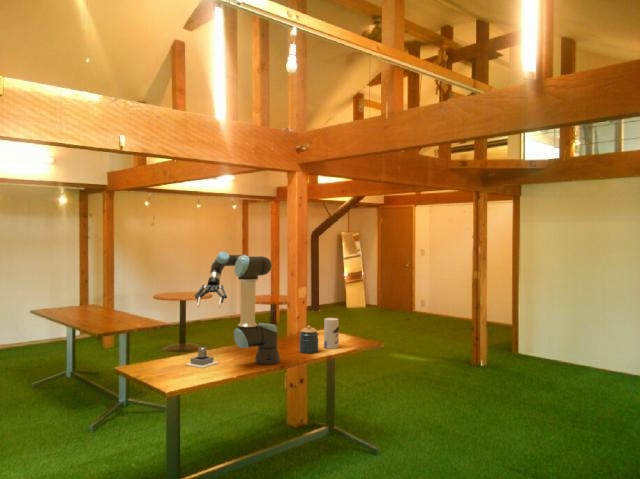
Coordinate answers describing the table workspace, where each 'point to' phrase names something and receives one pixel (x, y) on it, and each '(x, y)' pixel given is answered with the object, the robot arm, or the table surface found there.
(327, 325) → the container
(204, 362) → the square socket
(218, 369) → the table surface
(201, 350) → the glossy bronze cylinder
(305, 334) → the canister
